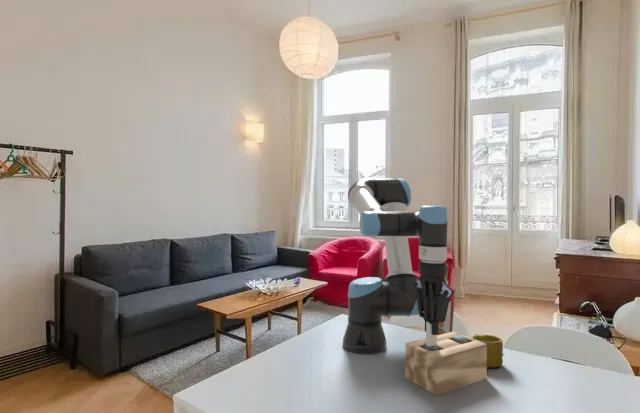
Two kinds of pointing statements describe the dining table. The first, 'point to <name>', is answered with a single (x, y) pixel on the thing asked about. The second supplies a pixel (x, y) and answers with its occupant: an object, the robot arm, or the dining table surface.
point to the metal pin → (431, 348)
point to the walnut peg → (460, 339)
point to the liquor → (448, 312)
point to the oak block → (446, 363)
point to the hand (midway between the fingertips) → (431, 344)
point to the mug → (492, 349)
